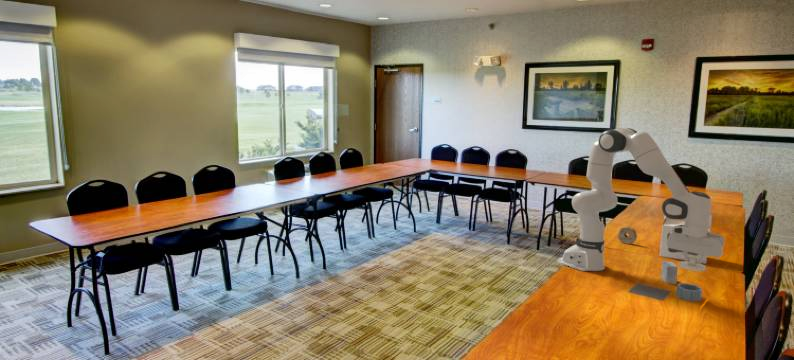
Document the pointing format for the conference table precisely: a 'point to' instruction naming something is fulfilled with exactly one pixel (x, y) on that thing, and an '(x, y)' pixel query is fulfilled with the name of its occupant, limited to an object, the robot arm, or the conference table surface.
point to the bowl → (689, 292)
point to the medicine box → (669, 272)
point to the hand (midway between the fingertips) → (692, 262)
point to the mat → (650, 291)
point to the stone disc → (624, 237)
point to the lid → (692, 265)
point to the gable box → (675, 253)
